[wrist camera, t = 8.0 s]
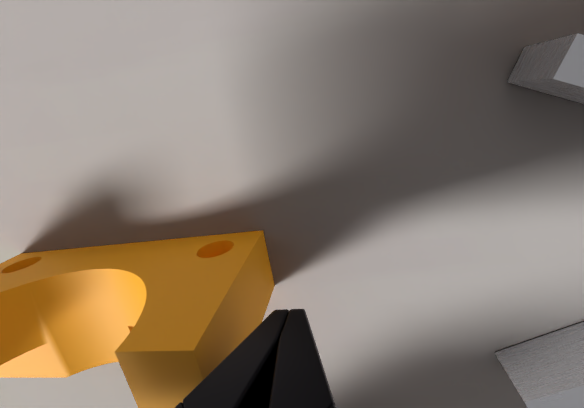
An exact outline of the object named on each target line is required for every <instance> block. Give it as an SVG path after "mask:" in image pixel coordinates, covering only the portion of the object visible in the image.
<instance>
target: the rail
mask: <svg viewBox="0 0 584 408" xmlns="http://www.w3.org/2000/svg"><path fill="white" fill-rule="evenodd" d="M507 82H508V83H511V84H515V85H518V86H522V87H525V88H529V89H532V90H536V91H539V92H543V93H546V94H550V95H553V96H557V97H560V98H564V99H567V100H571V101H574V102H578V103H581V104H584V35H582V34H579V33H577V34H573V35H569V36H565V37H561V38H557V39H553V40H550V41H546V42H542V43H538V44H534V45H530V46H526V47H524V48H523V50H522V52H521V54H520V56H519V59H518V61H517V63H516V65H515V67H514V69H513V71H512V73H511V75H510V77H509V79H508V81H507ZM495 354H496V356H497V358H498V359H499V361H500V363H501V364H502V366H503V368H504V369H505V371H506V373H507V374H508V376H509V378H510V379H511V381H512V383H513V384H514V386H515V388H516V389H517V391H518V393H519V394H520V396H521V398H522V399H523V401H524V403H525V404H526V406H527V408H584V322H581V323H579V324H576V325H573V326H570V327H567V328H564V329H561V330H558V331H555V332H553V333H550V334H547V335H544V336H541V337H538V338H535V339H532V340H529V341H526V342H524V343H521V344H518V345H515V346H512V347H509V348H506V349H503V350H500V351H498V352H495Z"/></svg>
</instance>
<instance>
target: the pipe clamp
mask: <svg viewBox="0 0 584 408" xmlns="http://www.w3.org/2000/svg"><path fill="white" fill-rule="evenodd" d="M274 286H275V285H274V280H273V275H272V270H271V266H270V261H269V256H268V251H267V247H266V242H265V237H264V233H263V230H260V231H250V232H239V233H229V234H219V235H208V236H198V237H187V238H177V239H166V240H156V241H146V242H135V243H125V244H114V245H104V246H93V247H83V248H72V249H62V250H52V251H41V252H31V253H21V254H19V255H17V256H15V257H13V258H11V259H9V260H7V261H5V262H3V263H1V264H0V377H68V376H71V375H73V374H76V373H78V372H81V371H84V370H86V369H90V368H93V367H96V366H100V365H103V364H108V363H113V362H119V363H120V366H121V368H122V370H123V373H124V375H125V377H126V380H127V382H128V385H129V387H130V389H131V392H132V394H133V396H134V399H135V401H136V403H137V406H138V408H175V407H176V406H177V405H178V404H179V403H180V402H182V403H183V399H184V398H185V397H186V396H187V395H188V394H189V393H190V392H191V391H192V390H193V389H194V388H195V387H196V386H197V385H198V384H199V383H200V382H201V381H203V380H204V379H205V378H206V377H207V376H208V375H209V374H210V373H211V372H212V371H213V370H214V369H215V368H216V367H217V366H218V365H219V364H220V363H221V362H222V361H223V360H224V359H225V358H226V357H227V356H228V355H229V354H230V353H231V352H232V351H233V350H234V349H235V348H236V347H237V346H238V345H239V344H240V343H241V342H242V341H243V340H244V339H245V338H247V337H248V336H249V335H250V334H251V333H252V332H253V331H254V330H255V329H256V328H257V327H258V326H259V325H260V324H261V323H262V320H263V317H264V314H265V311H266V309H267V306H268V303H269V300H270V297H271V294H272V291H273V289H274Z"/></svg>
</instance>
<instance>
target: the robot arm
mask: <svg viewBox="0 0 584 408" xmlns="http://www.w3.org/2000/svg"><path fill="white" fill-rule="evenodd" d="M175 408H336V407H335V403H334V400H333V396H332V393H331V390H330V387H329V384H328V381H327V378H326V375H325V371H324V368H323V365H322V362H321V359H320V356H319V353H318V350H317V346H316V343H315V340H314V337H313V334H312V331H311V328H310V325H309V321H308V318H307V315H306V312H305V310H304V309H291V310H290V311H289V310H287V309H286V310H275V311H273V312H272V313H271V314H270V315H269V316H268V317H267V318H266V319H265V320H264V321H263V322H262V323H261V324H260V325H259V326H258V327H257V328H256V329H255V330H254V331H253V332H252V333H251V334H250V335H249V336H248V337H247V338H245V339H244V340H243V341H242V342H241V343H240V344H239V345H238V346H237V347H236V348H235V349H234V350H233V351H232V352H231V353H230V354H229V355H228V356H227V357H226V358H225V359H224V360H223V361H222V362H221V363H220V364H219V365H218V366H217V367H216V368H215V369H214V370H213V371H212V372H211V373H210V374H209V375H208V376H207V377H206V378H205V379H204V380H203V381H201V382H200V383H199V384H198V385H197V386H196V387H195V388H194V389H193V390H192V391H191V392H190V393H189V394H188V395H187V396H186V397H185V398H184V399H183V403H182V402H180V403H179V404H178V405H177V406H176V407H175Z"/></svg>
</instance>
